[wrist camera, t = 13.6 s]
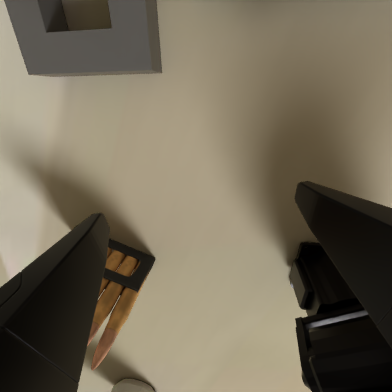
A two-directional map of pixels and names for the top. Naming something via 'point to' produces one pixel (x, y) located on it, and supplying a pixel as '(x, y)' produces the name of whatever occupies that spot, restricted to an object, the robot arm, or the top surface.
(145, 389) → the jar
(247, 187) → the top surface
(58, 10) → the block
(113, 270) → the ammunition clip
